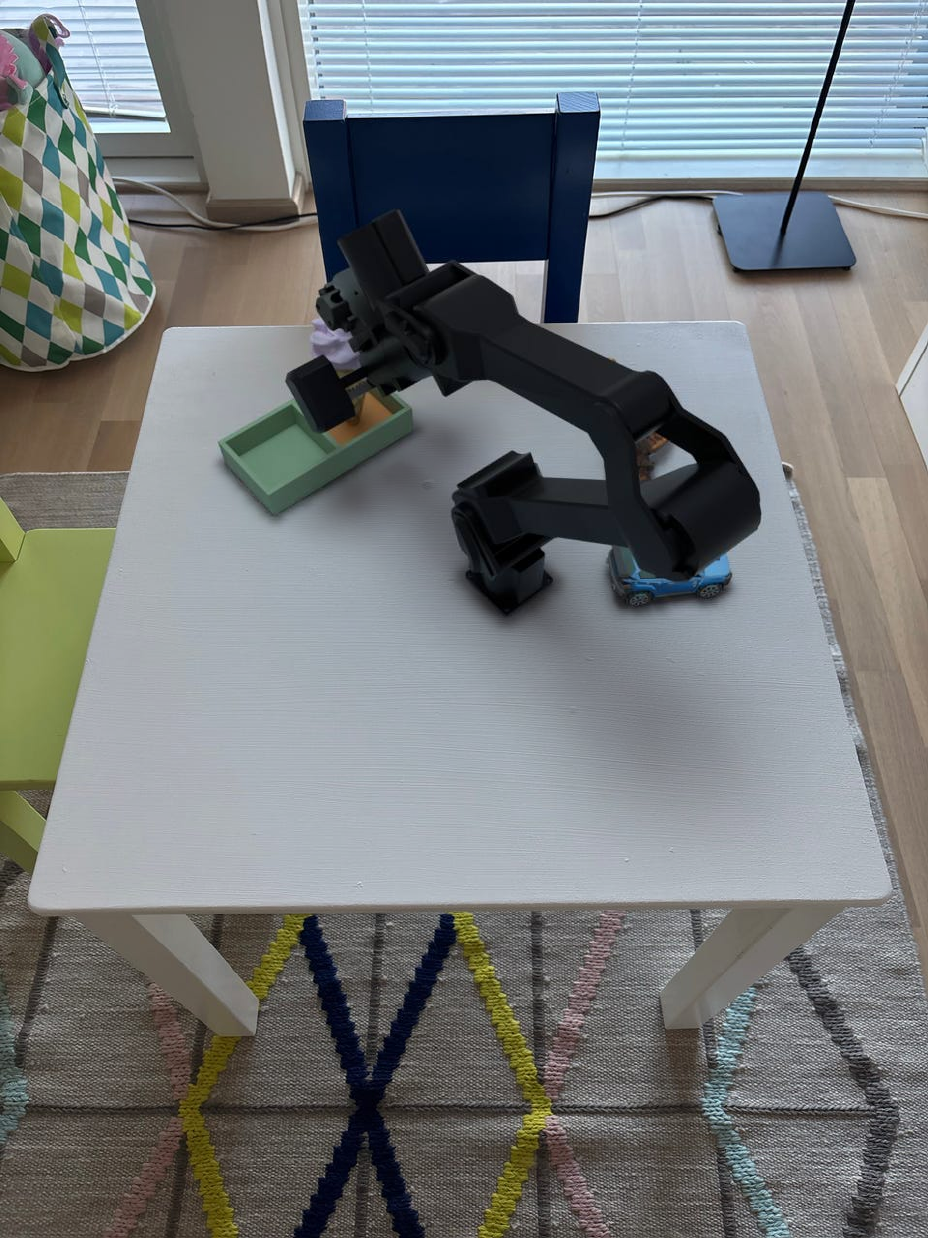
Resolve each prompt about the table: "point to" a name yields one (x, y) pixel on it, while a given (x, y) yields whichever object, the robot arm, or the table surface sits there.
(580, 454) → the table surface
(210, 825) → the table surface
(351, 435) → the divided tray
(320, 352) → the ice cream cone
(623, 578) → the toy car
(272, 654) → the table surface
